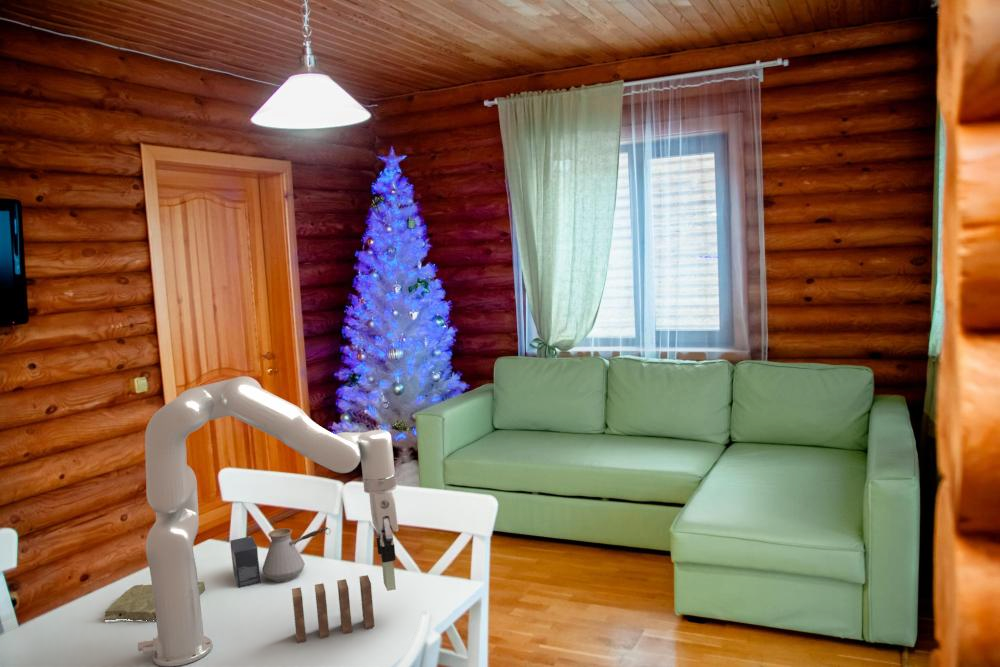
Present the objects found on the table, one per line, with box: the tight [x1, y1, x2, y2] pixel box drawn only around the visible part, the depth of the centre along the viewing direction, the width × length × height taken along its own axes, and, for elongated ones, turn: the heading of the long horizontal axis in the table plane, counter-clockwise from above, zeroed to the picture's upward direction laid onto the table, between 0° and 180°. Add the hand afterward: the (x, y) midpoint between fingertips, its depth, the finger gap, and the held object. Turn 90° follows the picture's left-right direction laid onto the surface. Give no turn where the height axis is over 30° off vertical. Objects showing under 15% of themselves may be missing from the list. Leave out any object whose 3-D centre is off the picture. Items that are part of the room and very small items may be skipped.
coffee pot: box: [262, 526, 331, 583], centre depth 221 cm, size 21×12×15 cm, turn 71°
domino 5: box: [380, 539, 397, 592], centre depth 191 cm, size 2×5×11 cm, turn 18°
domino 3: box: [336, 579, 353, 635], centre depth 188 cm, size 2×5×11 cm, turn 18°
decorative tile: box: [103, 581, 206, 622], centre depth 208 cm, size 19×20×4 cm
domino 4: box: [358, 574, 375, 630], centre depth 190 cm, size 2×5×11 cm, turn 18°
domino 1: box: [291, 587, 307, 644], centre depth 185 cm, size 2×5×11 cm, turn 18°
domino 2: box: [314, 582, 330, 639], centre depth 187 cm, size 2×5×11 cm, turn 18°
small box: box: [230, 535, 262, 589], centre depth 222 cm, size 11×6×10 cm, turn 25°
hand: (386, 556), depth 190 cm, fingers closed on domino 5, 4 cm apart
